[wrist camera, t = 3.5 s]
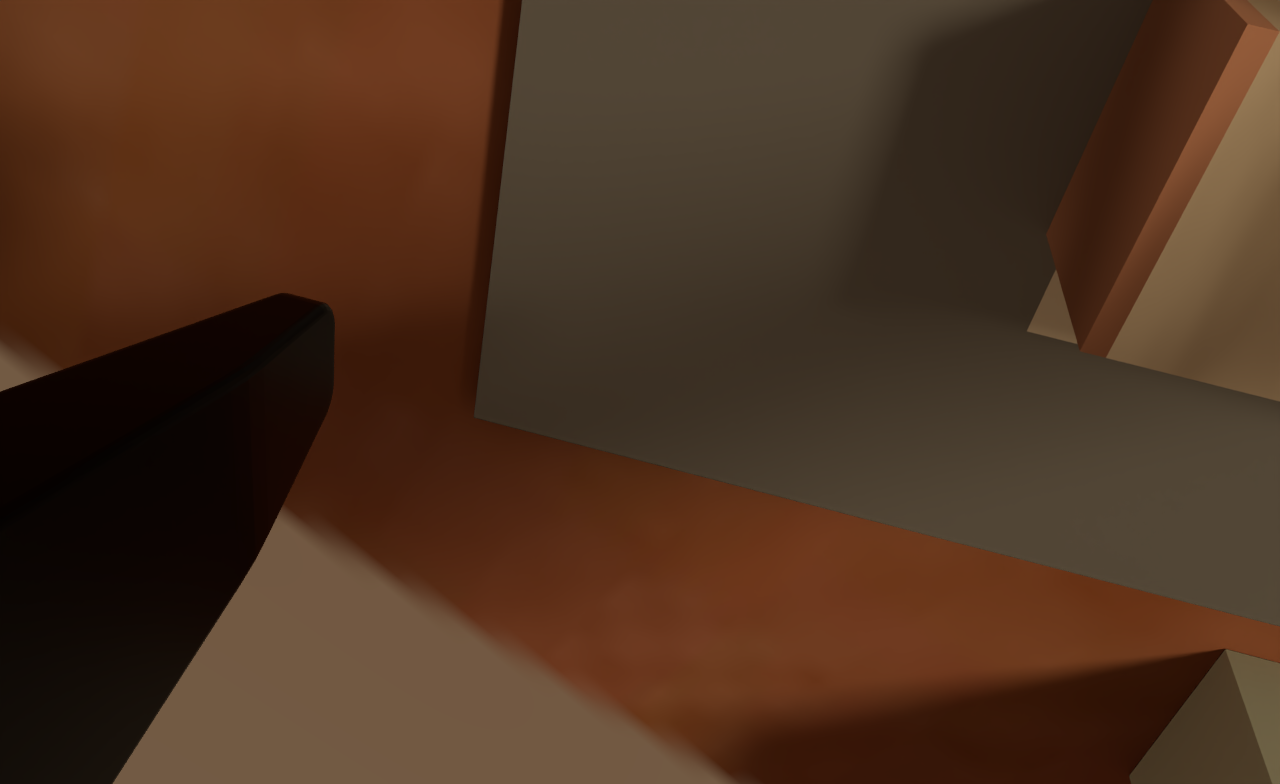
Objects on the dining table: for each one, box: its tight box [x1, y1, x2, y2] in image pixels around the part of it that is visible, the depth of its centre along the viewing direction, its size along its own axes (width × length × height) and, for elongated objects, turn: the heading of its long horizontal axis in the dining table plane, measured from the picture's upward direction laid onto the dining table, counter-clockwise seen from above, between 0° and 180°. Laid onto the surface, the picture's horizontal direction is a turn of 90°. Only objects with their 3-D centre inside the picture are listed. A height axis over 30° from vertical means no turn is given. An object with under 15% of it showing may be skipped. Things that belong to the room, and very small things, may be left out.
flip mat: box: [474, 0, 1280, 626], centre depth 18 cm, size 26×20×1 cm
